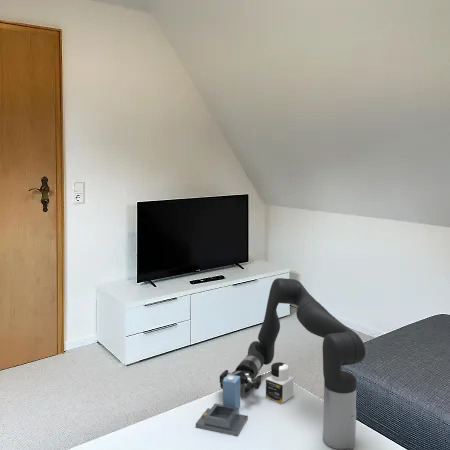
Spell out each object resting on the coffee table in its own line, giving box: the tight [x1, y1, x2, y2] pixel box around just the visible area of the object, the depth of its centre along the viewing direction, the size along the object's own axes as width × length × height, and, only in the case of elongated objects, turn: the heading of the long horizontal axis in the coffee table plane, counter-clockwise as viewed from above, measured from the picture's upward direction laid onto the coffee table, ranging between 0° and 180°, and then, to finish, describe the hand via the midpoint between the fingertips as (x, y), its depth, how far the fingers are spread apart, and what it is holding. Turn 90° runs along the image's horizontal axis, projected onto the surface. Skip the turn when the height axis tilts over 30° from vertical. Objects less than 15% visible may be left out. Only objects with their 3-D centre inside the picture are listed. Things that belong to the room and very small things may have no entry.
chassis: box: [195, 402, 249, 437], centre depth 152 cm, size 14×10×4 cm
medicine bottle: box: [265, 361, 294, 404], centre depth 168 cm, size 7×7×12 cm
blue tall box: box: [222, 374, 241, 409], centre depth 159 cm, size 4×5×12 cm
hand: (233, 388), depth 161 cm, fingers open, 8 cm apart
